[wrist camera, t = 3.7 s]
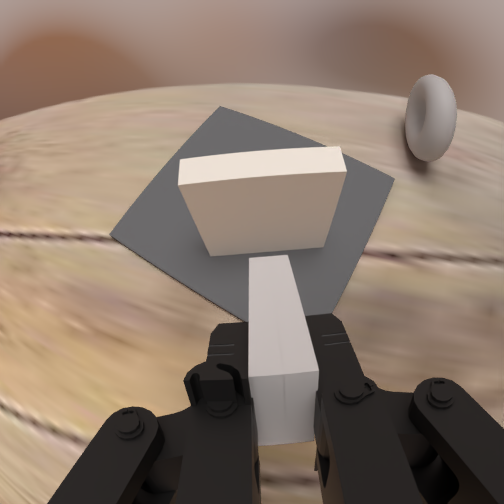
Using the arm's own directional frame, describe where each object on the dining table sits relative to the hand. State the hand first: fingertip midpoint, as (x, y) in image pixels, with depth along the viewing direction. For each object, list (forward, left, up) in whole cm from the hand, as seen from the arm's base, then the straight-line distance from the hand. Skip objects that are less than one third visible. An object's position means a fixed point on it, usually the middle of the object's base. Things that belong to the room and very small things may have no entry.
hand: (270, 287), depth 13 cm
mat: (+8, -10, -14) cm, 19 cm away
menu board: (+5, -7, -14) cm, 16 cm away
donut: (-4, -27, -15) cm, 31 cm away
